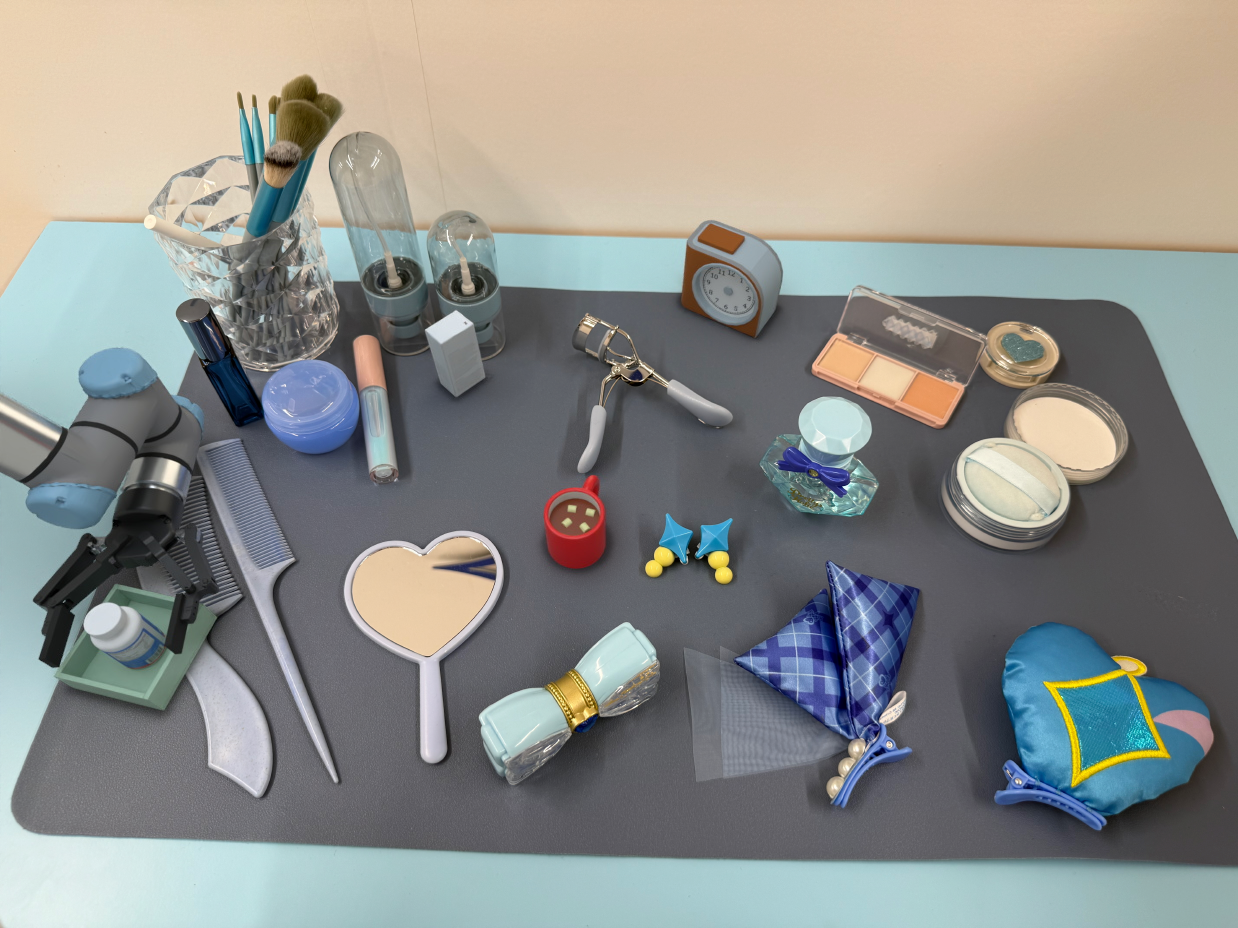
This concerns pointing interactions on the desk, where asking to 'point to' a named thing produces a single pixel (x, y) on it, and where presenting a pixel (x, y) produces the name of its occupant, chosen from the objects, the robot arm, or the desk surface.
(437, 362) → the cosmetic box
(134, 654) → the pill bottle
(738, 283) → the alarm clock
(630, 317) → the desk surface
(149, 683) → the tray
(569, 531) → the mug
